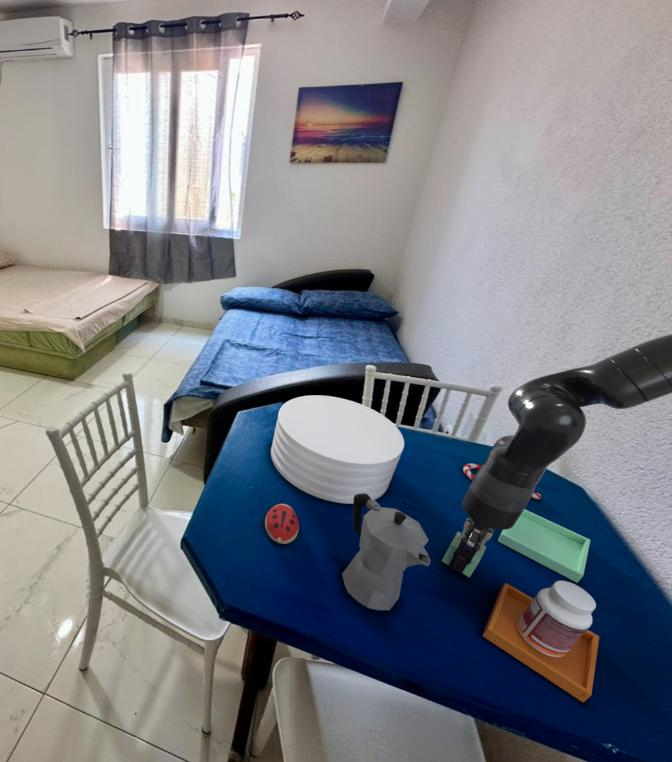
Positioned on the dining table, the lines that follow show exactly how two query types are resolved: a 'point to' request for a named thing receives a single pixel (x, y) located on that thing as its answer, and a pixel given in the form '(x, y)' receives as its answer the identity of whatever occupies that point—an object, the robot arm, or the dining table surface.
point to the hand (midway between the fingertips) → (459, 560)
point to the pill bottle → (556, 618)
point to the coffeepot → (382, 553)
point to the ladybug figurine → (282, 524)
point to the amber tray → (563, 671)
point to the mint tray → (548, 544)
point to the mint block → (449, 554)
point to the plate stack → (335, 448)
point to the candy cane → (475, 466)
